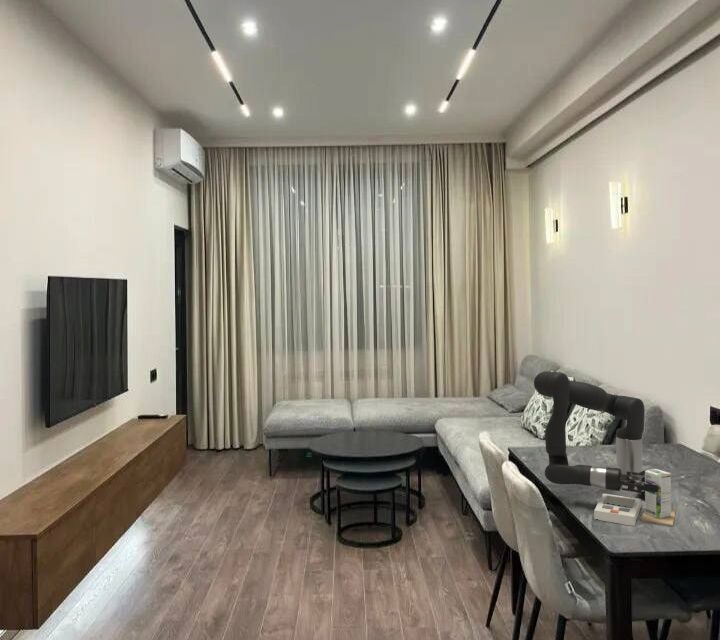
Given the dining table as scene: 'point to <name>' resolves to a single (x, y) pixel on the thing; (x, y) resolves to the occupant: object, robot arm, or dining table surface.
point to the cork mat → (664, 521)
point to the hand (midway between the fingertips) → (658, 484)
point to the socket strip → (618, 509)
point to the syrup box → (658, 493)
